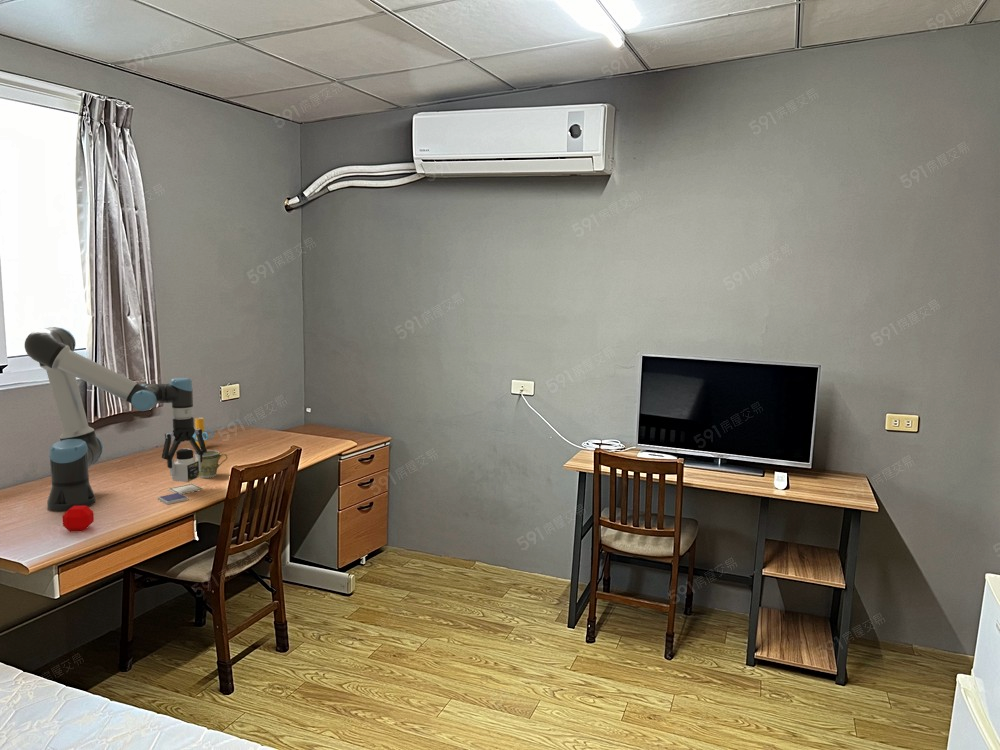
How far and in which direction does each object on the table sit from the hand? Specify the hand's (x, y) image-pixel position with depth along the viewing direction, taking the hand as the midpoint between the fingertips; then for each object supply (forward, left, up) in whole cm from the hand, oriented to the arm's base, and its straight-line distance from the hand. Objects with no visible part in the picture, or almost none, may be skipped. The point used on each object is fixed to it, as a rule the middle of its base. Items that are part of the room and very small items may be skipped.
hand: (185, 473), depth 281 cm
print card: (0, 0, -7) cm, 7 cm away
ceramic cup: (+16, +12, -7) cm, 22 cm away
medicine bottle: (0, 0, -3) cm, 3 cm away
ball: (-45, -19, -7) cm, 49 cm away
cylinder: (+35, +62, -7) cm, 72 cm away
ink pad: (-9, -9, -7) cm, 14 cm away
